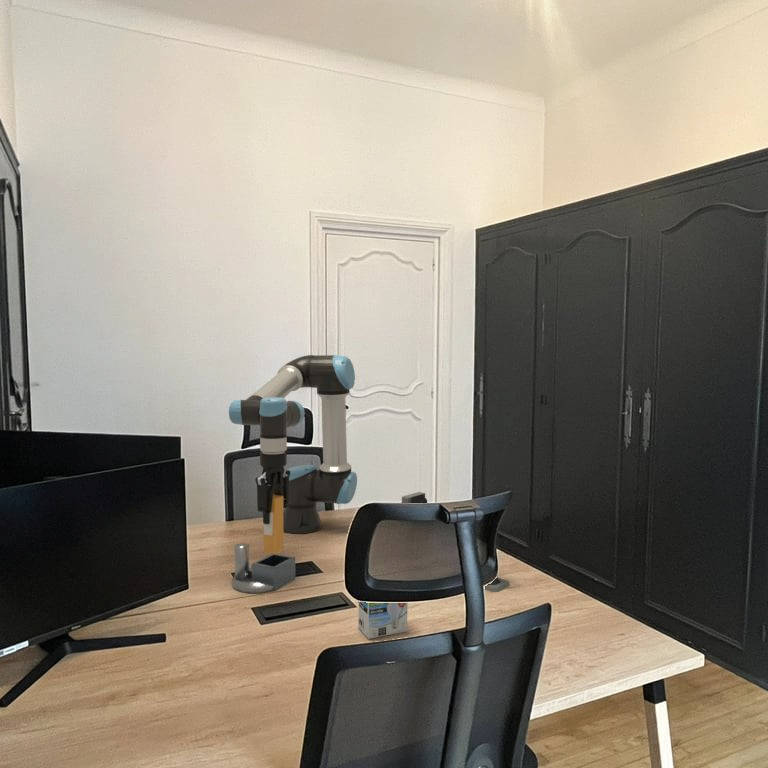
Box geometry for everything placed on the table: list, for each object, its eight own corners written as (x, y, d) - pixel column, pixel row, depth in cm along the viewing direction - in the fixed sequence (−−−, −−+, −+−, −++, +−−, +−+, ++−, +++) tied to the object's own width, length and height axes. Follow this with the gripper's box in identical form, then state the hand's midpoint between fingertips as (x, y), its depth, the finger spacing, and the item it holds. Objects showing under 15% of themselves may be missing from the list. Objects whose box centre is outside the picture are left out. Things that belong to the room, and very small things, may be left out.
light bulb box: (368, 640, 149) (368, 595, 148) (357, 628, 155) (357, 585, 154) (408, 631, 154) (409, 588, 153) (396, 620, 160) (396, 578, 159)
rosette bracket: (254, 570, 193) (254, 534, 192) (295, 579, 186) (295, 542, 185) (220, 587, 180) (220, 549, 179) (263, 597, 173) (263, 558, 172)
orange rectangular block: (272, 548, 185) (272, 494, 184) (283, 550, 184) (283, 496, 183) (263, 552, 182) (263, 497, 181) (274, 554, 180) (274, 499, 179)
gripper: (280, 446, 190) (280, 523, 192) (243, 455, 175) (243, 538, 177) (301, 448, 187) (301, 526, 188) (265, 457, 172) (265, 542, 173)
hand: (273, 532), depth 182 cm, fingers closed on orange rectangular block, 4 cm apart
